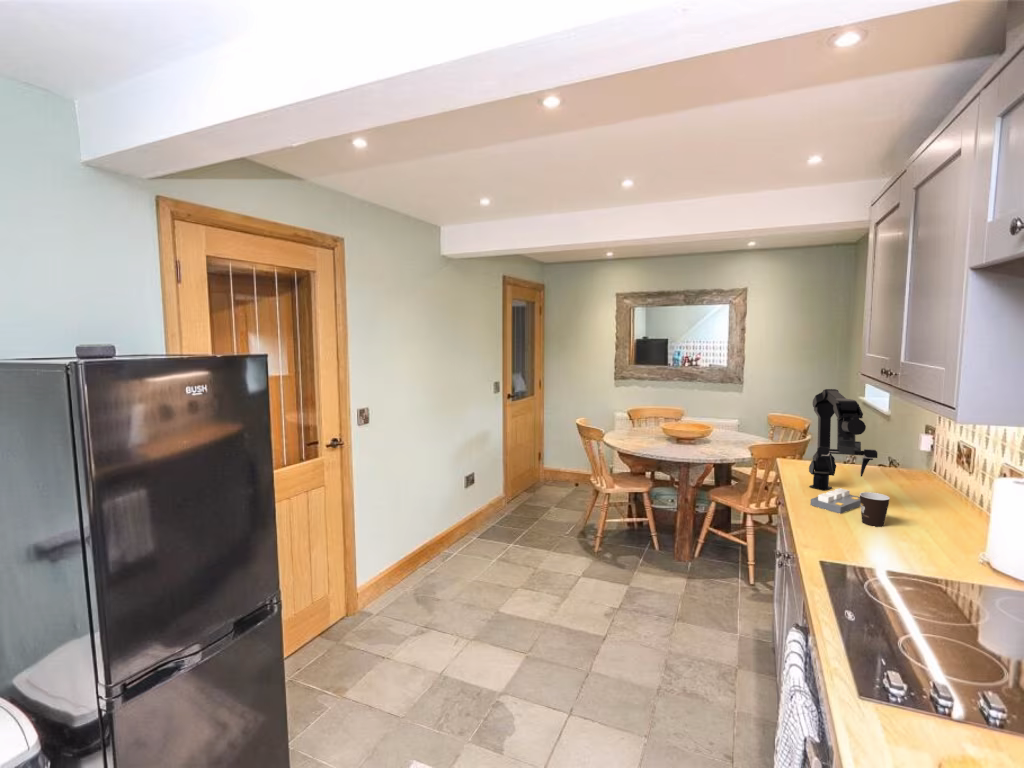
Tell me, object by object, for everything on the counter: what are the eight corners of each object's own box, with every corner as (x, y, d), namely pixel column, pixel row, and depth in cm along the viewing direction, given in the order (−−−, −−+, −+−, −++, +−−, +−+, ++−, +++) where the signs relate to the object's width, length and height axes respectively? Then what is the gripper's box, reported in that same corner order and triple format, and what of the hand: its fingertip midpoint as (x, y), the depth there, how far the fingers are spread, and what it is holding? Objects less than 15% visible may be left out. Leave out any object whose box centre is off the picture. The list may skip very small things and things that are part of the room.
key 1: (823, 500, 200) (823, 493, 199) (833, 503, 196) (833, 495, 196) (817, 502, 198) (818, 495, 197) (828, 505, 194) (828, 497, 194)
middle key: (831, 497, 203) (831, 490, 202) (841, 500, 199) (841, 493, 199) (826, 499, 201) (826, 492, 200) (836, 502, 197) (836, 494, 197)
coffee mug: (887, 530, 174) (889, 501, 173) (857, 524, 179) (858, 497, 178) (888, 519, 183) (890, 492, 182) (859, 514, 188) (860, 488, 187)
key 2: (839, 495, 206) (839, 488, 205) (849, 497, 202) (849, 490, 202) (834, 496, 204) (834, 489, 203) (844, 499, 200) (844, 492, 200)
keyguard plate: (835, 496, 208) (835, 490, 208) (864, 504, 199) (865, 497, 198) (810, 505, 199) (810, 498, 199) (840, 513, 190) (840, 506, 189)
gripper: (816, 433, 189) (816, 475, 189) (878, 435, 179) (878, 480, 179) (817, 432, 199) (817, 472, 198) (876, 434, 189) (876, 476, 188)
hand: (846, 475), depth 190 cm, fingers open, 9 cm apart
